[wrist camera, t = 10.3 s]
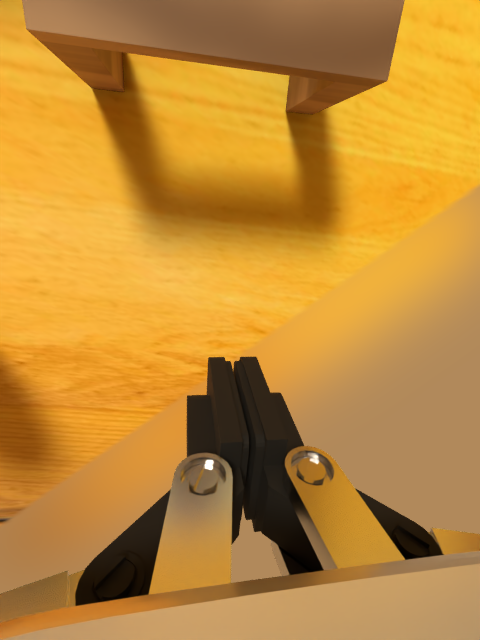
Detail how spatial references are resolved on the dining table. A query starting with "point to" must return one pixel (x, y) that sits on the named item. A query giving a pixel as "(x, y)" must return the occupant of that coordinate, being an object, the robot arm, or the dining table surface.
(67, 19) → the bridge
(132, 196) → the dining table surface
